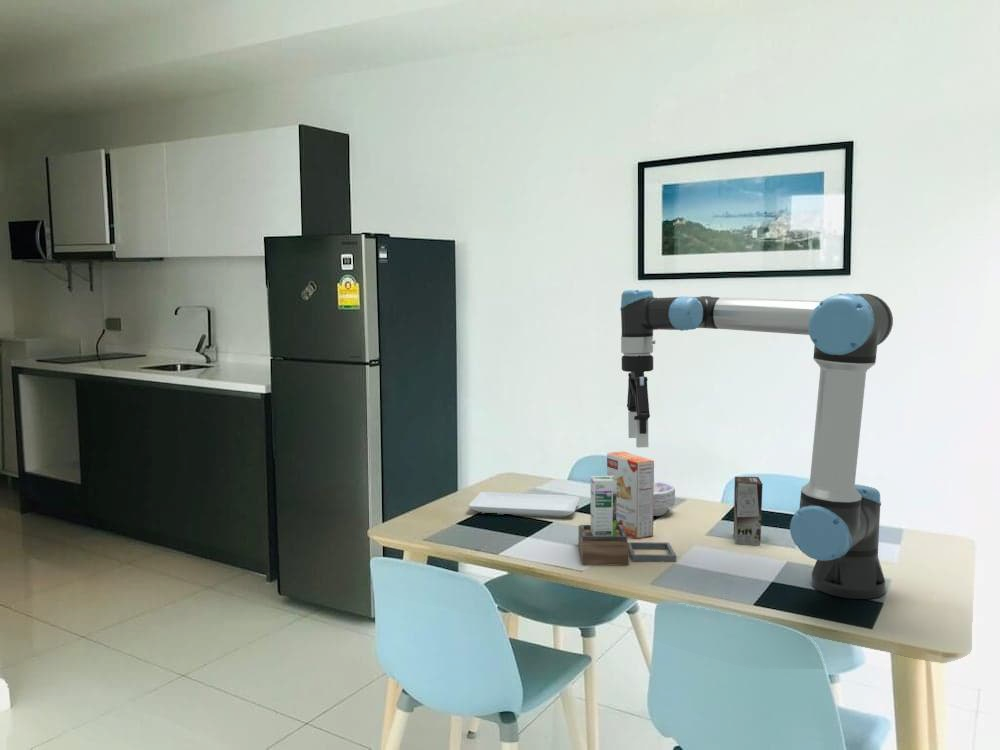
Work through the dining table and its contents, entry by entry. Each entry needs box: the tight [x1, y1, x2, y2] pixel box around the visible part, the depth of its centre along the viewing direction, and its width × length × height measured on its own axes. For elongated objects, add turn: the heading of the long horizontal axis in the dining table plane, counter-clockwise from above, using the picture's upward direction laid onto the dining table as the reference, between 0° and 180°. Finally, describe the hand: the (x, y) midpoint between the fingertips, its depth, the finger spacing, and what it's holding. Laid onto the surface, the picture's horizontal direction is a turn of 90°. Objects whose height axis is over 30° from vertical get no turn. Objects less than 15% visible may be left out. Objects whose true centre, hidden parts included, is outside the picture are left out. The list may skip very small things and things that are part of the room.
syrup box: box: [589, 475, 617, 536], centre depth 208 cm, size 6×6×14 cm
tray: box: [467, 491, 581, 518], centre depth 250 cm, size 17×31×4 cm, turn 78°
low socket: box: [628, 541, 677, 563], centre depth 208 cm, size 11×11×2 cm
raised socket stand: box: [577, 524, 630, 566], centre depth 208 cm, size 16×11×6 cm
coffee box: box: [733, 476, 763, 546], centre depth 219 cm, size 9×6×16 cm
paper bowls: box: [653, 481, 676, 517], centre depth 246 cm, size 15×15×8 cm
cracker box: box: [606, 451, 655, 540], centre depth 227 cm, size 14×6×21 cm, turn 27°
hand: (638, 442), depth 202 cm, fingers open, 13 cm apart
